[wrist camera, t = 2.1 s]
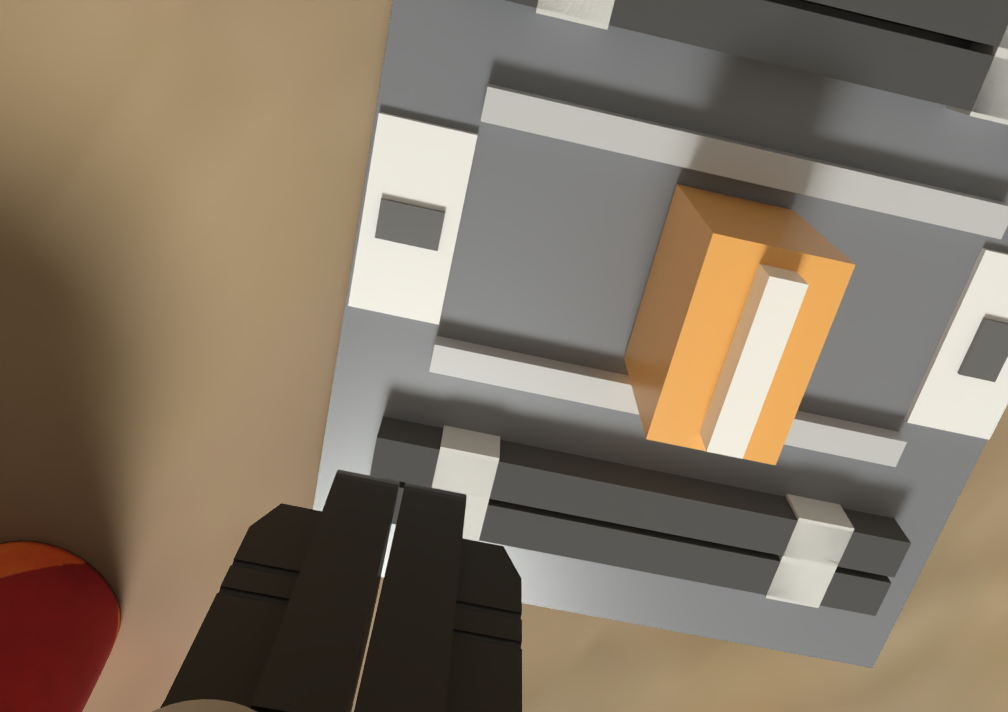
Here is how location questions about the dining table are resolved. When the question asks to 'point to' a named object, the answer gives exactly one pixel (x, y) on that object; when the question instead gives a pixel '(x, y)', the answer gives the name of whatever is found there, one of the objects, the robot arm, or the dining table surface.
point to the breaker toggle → (732, 324)
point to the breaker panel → (627, 264)
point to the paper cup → (52, 628)
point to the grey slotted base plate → (682, 500)
